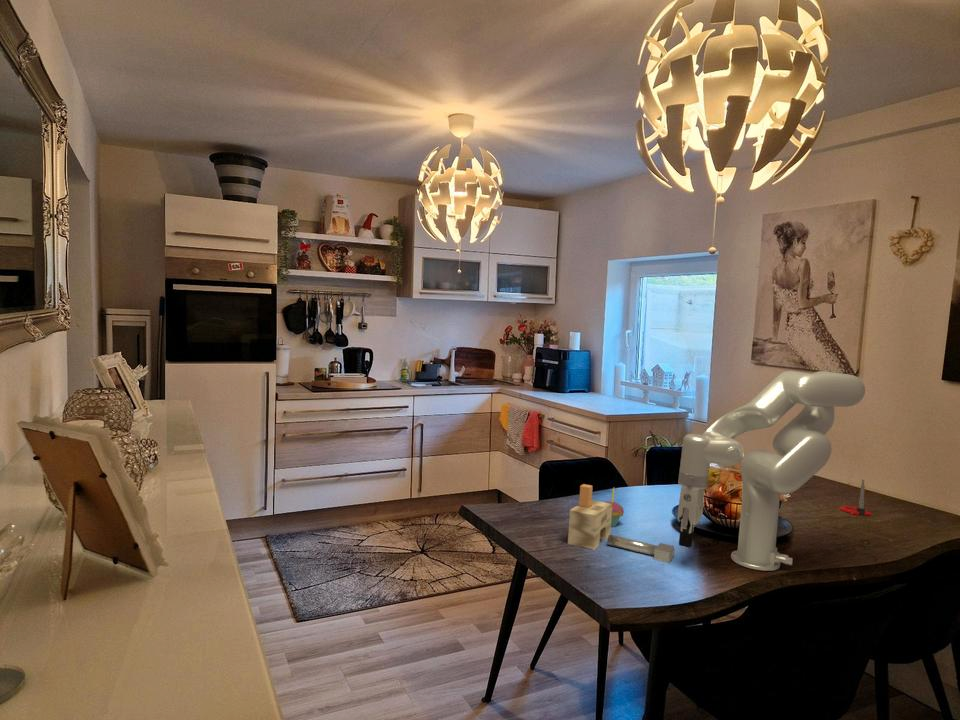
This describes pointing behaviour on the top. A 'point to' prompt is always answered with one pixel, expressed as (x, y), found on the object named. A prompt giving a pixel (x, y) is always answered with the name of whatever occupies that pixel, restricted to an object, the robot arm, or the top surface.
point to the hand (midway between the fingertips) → (685, 545)
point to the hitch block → (590, 524)
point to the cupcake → (615, 510)
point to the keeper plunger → (585, 496)
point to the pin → (643, 548)
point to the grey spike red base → (861, 505)
